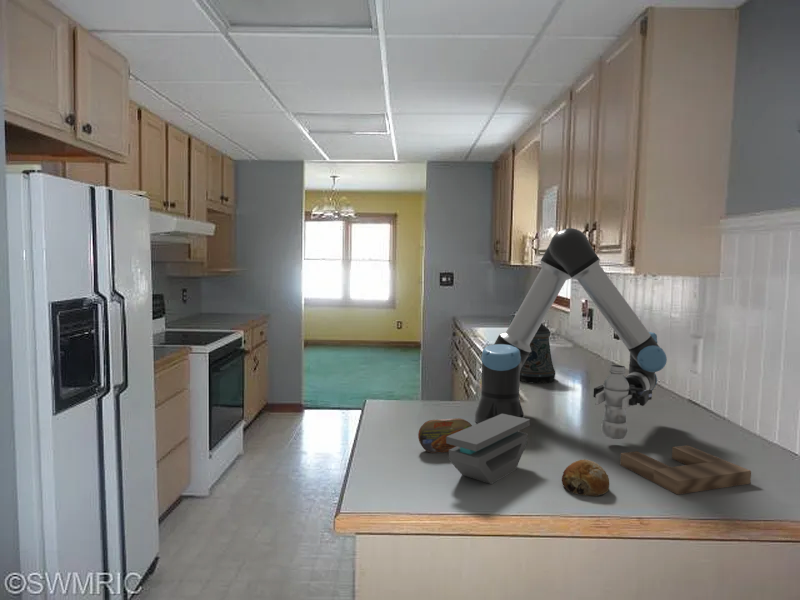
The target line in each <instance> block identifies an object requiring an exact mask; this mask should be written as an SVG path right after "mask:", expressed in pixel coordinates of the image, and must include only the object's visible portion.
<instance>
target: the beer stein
mask: <svg viewBox="0 0 800 600" xmlns="http://www.w3.org/2000/svg"><path fill="white" fill-rule="evenodd" d="M550 336H551V331H550V329H549V328H548V327H547V326H546V325H544V324H543V322H542V323H541V325H540V327H539V329H538V330H537V332H536V334H535V336H534V337H533V339H532V341H531V343H530V348H531V352H530V354H529V356H528V358H527V359H526V361H525V363H524V365H523V366H522V368H521V371H520V380H521V381H520V382H524V381H526V382H525V383H529V382H533V383H532V384H549V382H550V383H552V382H554V381H555V377H556V370H555V367H554V363H553V360H552V355H551V346H550V345H551V343H550Z"/></svg>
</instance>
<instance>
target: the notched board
mask: <svg viewBox="0 0 800 600" xmlns="http://www.w3.org/2000/svg"><path fill="white" fill-rule="evenodd" d="M671 448H672V451H671V459H672V460H675V461H677V462H679V463H681V464H684V465H677V466H670V465H668V464H666V463H663V462H661V461H659V460H657V459H655V458H653V457H651V456H649V455H646V454H644V453H642V452H640V451H628V452H621V453H620V464H619V465H620V466H622V467H623V468H625V469H627V470H629V471H631V472H632V473H633V472H634V474H637V475H639V476H641V477H643V479H644V478H645V479H647V480H648V481H650V482H652V483H654V484H656V485H658V486H660V487H661V488H664V489H665V490H668V491H669V492H671V493H674V494H675V495H684V494H691V493H697V492H703V491H704V492H705V491H709V490H710V491H712V490H716V489H723V488H729V487H737V486H742V485H743V486H744V485H750V484H751V481H752V480H751V479H752V470H750V469H748V468H745V467H743V466H740V465H737V464H735V463H732V462H730V461H727V460H726V459H723V458H720V457H718V456H715V455H713V454H711V453H708V452H705V451H703V450H701V449H698V448H696V447H693V446H691V445H687V444H686V445H679V446H672V447H671Z"/></svg>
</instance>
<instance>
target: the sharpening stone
mask: <svg viewBox="0 0 800 600" xmlns="http://www.w3.org/2000/svg"><path fill="white" fill-rule="evenodd" d="M530 425H531V419H530V418H525V417H524V418H521V417H516V416H511V415H507V414H500V415H497V416H495V417H493V418H490V419H488V420H485V421H483V422H480V423H476V424H473V425H472V426H471V427H468V428H466V429H464V430H461V431H459V432H456V433H454V434H451V435H449V436H447V437H446V443H447V444H450V445H454V446H456V447H454V448H452V449H450V450H449V452H448V460H449V461H450V462H451V464H452V465H453V466H454V467H455V468H456V470H457V471H458V472H459V473H460V474H461V476H463V477H467V478H471V479H473V480H477V481H480V482H484V483H485V484H490V485H492V484H494V483H496V482H498V481H499V480H501V479H502V478H504V477H506V476H508V475H509V474H511V473H512V472H515V471H516V470H517V468H518V466H519V463H520V461H521V459H522V456H523V453H524V451H525V448H526V446H527V443H528V433H526V432H522V431H521V430H523V429H526V428H528V427H530Z"/></svg>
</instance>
